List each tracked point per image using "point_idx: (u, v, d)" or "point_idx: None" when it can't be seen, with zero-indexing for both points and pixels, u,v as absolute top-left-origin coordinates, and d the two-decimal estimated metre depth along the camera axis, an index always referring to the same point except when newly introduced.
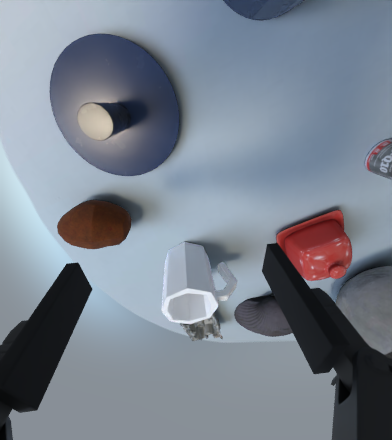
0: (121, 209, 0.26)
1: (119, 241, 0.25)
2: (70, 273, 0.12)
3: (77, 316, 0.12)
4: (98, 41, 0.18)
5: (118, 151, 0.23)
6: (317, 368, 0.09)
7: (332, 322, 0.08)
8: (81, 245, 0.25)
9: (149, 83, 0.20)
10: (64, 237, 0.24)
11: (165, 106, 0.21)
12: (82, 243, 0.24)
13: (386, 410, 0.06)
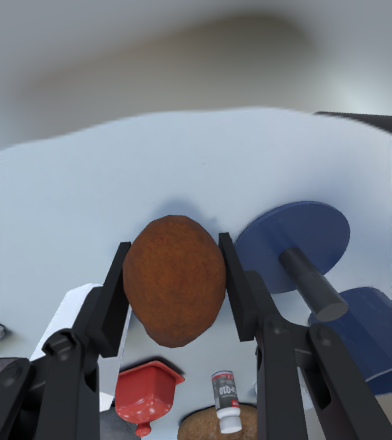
0: None
1: (162, 345, 0.12)
2: (126, 249, 0.13)
3: None
4: (341, 249, 0.22)
5: (260, 253, 0.21)
6: (240, 335, 0.10)
7: (251, 295, 0.10)
8: (151, 307, 0.10)
9: None
10: (167, 267, 0.09)
11: (286, 286, 0.25)
12: (163, 315, 0.10)
13: (285, 363, 0.07)
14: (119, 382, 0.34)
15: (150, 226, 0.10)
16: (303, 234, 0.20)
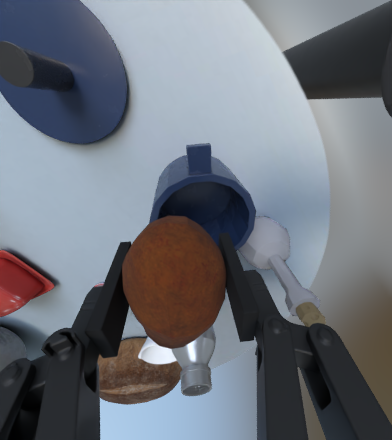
0: None
1: (161, 346, 0.12)
2: (126, 249, 0.13)
3: None
4: (118, 69, 0.21)
5: None
6: (241, 336, 0.10)
7: (251, 295, 0.10)
8: (150, 308, 0.10)
9: (99, 116, 0.23)
10: (167, 268, 0.09)
11: (86, 130, 0.23)
12: (162, 316, 0.10)
13: (284, 363, 0.07)
14: None
15: (150, 227, 0.10)
16: (54, 37, 0.19)
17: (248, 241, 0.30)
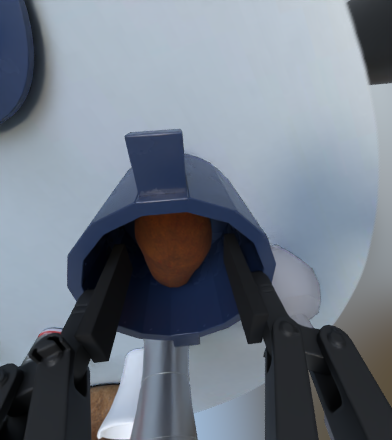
0: None
1: (162, 283, 0.17)
2: (120, 251, 0.13)
3: (126, 290, 0.13)
4: None
5: None
6: (249, 338, 0.10)
7: (259, 297, 0.10)
8: (155, 242, 0.14)
9: None
10: None
11: None
12: (163, 248, 0.14)
13: (295, 366, 0.07)
14: None
15: None
16: None
17: None
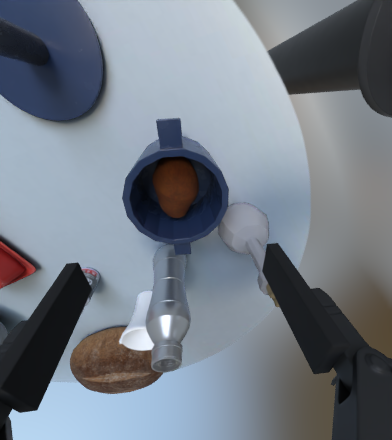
0: None
1: (169, 214, 0.28)
2: (70, 273, 0.12)
3: (77, 316, 0.12)
4: (93, 45, 0.21)
5: None
6: (317, 368, 0.09)
7: (332, 322, 0.08)
8: (166, 184, 0.25)
9: (76, 92, 0.23)
10: (172, 167, 0.24)
11: (62, 107, 0.24)
12: (170, 187, 0.25)
13: (387, 410, 0.06)
14: None
15: None
16: (27, 8, 0.19)
17: (227, 225, 0.31)
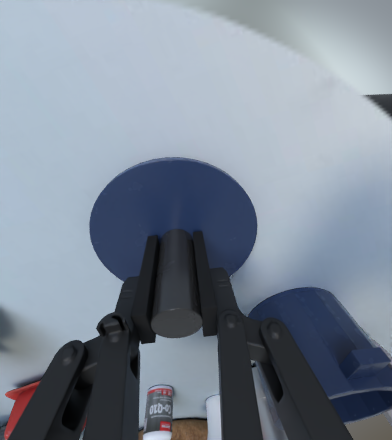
0: None
1: None
2: (155, 242, 0.14)
3: None
4: (250, 233, 0.16)
5: (130, 237, 0.15)
6: (203, 330, 0.10)
7: (212, 291, 0.10)
8: None
9: None
10: None
11: None
12: None
13: (238, 355, 0.08)
14: (18, 399, 0.28)
15: None
16: (183, 209, 0.14)
17: None
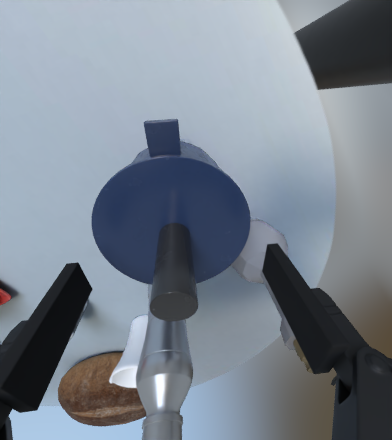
0: None
1: None
2: (70, 273, 0.12)
3: (77, 316, 0.12)
4: (244, 227, 0.17)
5: (130, 231, 0.16)
6: (317, 368, 0.09)
7: (332, 322, 0.08)
8: None
9: (208, 264, 0.19)
10: None
11: None
12: None
13: (387, 410, 0.06)
14: None
15: None
16: (180, 204, 0.15)
17: None
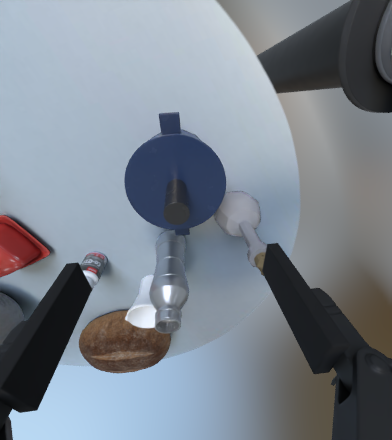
0: None
1: None
2: (70, 273, 0.12)
3: (77, 316, 0.12)
4: (222, 183, 0.26)
5: (148, 184, 0.25)
6: (317, 368, 0.09)
7: (332, 322, 0.08)
8: None
9: (199, 212, 0.28)
10: None
11: (185, 221, 0.29)
12: None
13: (387, 410, 0.06)
14: None
15: None
16: (180, 165, 0.24)
17: (222, 210, 0.34)
